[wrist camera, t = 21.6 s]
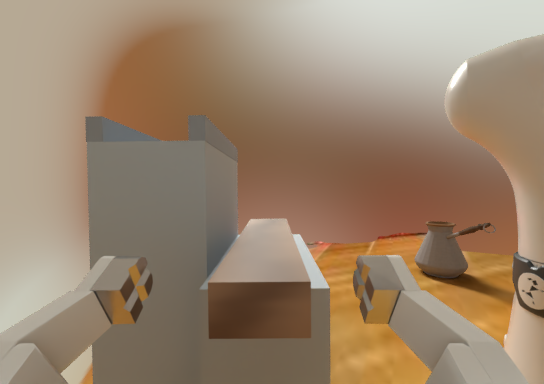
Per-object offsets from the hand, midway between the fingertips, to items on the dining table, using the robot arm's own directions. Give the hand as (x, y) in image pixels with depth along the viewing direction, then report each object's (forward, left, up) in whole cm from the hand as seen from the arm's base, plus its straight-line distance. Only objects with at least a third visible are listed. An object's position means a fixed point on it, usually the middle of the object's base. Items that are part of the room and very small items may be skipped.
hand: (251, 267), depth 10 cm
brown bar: (0, -12, -4) cm, 13 cm away
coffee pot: (-43, -52, -20) cm, 70 cm away
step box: (+4, -16, -20) cm, 26 cm away
